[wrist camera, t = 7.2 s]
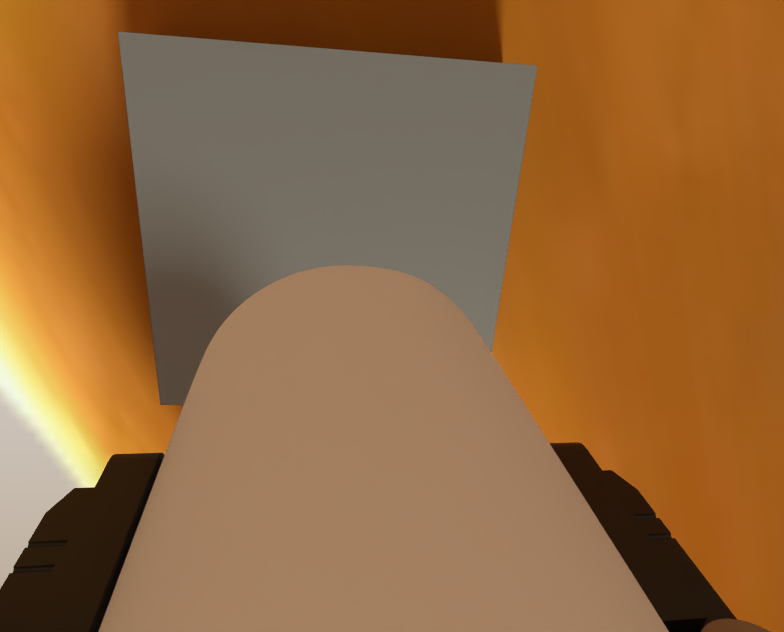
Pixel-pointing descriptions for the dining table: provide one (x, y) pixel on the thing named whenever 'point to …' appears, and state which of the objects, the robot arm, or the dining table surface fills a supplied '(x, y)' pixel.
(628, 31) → the dining table surface
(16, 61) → the dining table surface
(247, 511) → the can
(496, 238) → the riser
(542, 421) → the dining table surface
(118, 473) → the robot arm
